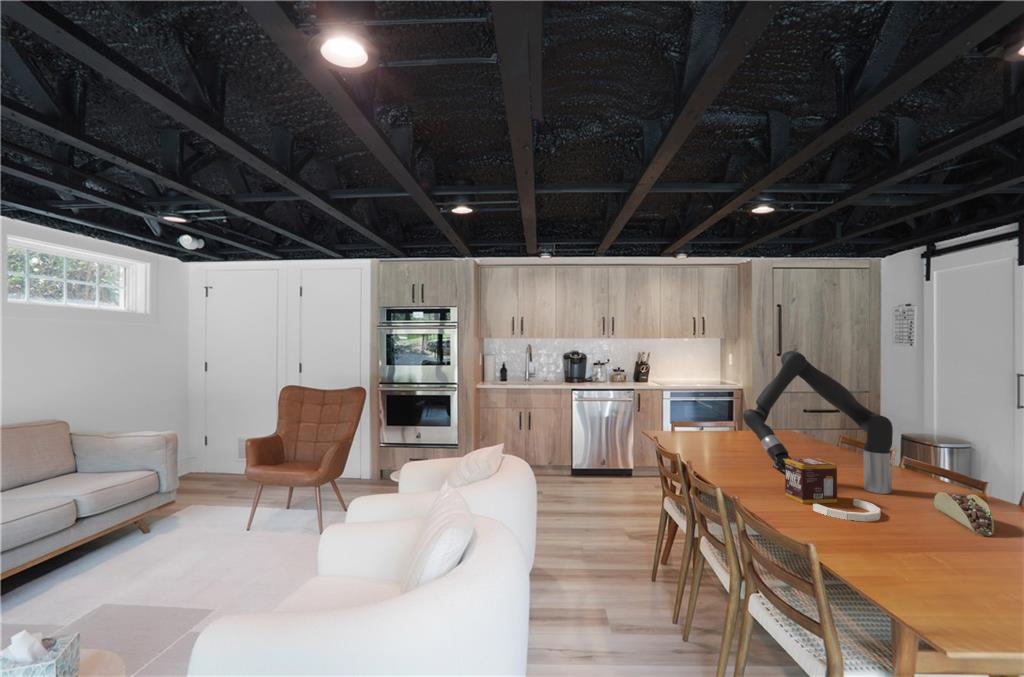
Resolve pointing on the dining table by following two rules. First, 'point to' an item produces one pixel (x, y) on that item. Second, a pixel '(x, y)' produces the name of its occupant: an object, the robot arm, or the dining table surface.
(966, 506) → the taco
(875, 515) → the segmented curved arch
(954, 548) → the dining table surface
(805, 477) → the supplement box
